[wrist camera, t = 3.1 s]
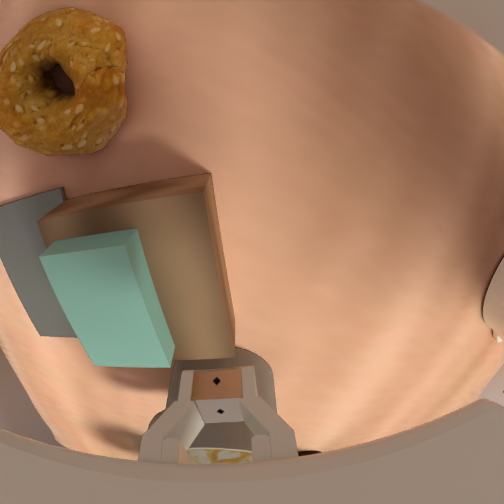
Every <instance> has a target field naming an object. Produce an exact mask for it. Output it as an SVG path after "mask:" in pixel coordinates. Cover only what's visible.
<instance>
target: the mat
mask: <svg viewBox="0 0 504 504" xmlns="http://www.w3.org/2000/svg"><path fill="white" fill-rule="evenodd" d="M65 200H66V198H65V194H64V190H63V187H61V188H57V189H53V190H50V191H46V192H43V193H40V194H36V195H33V196H30V197H26V198H23V199H20V200H17V201H14V202H11V203H8V204H5V205H2V206H0V258H1V260H2V262H3V265H4V267H5V269H6V271H7V274H8V276H9V278H10V280H11V282H12V284H13V287H14V289H15V291H16V293H17V295H18V297H19V299H20V301H21V303H22V304H23V306H24V308H25V310H26V312H27V314H28V316H29V317H30V319H31V321H32V323H33V324H34V326H35V328H36V330H37V331H38V333H39V335H40V336H51V337H75V338H78V337H77V335H76V333H75V332H74V330H73V328H72V326H71V324H70V322H69V321H68V319H67V317H66V315H65V313H64V311H63V309H62V307H61V305H60V303H59V301H58V299H57V297H56V295H55V292H54V290H53V288H52V286H51V284H50V282H49V279H48V277H47V275H46V272H45V270H44V268H43V265H42V263H41V261H40V258H39V256H40V255H41V254H42V253H43V252H44V251H45V250H46V246H45V244H44V241H43V238H42V235H41V233H40V230H39V227H38V224H37V221H38V220H39V219H41V218H42V217H43V216H45V215H46V214H47V213H49V212H50V211H51V210H53V209H54V208H55V207H57V206H58V205H59V204H61V203H62V202H64V201H65Z"/></svg>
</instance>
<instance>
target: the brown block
mask: <svg viewBox="0 0 504 504" xmlns="http://www.w3.org/2000/svg"><path fill="white" fill-rule="evenodd" d="M37 224H38V227H39V230H40V233H41V235H42V238H43V241H44V244H45V246H46V249H47V248H48V247H49V246H50V245H51V244H52V243H53V242H55V241H58V240H64V239H70V238H76V237H83V236H89V235H95V234H102V233H108V232H115V231H122V230H129V229H136V228H137V230H138V234H139V237H140V241H141V244H142V248H143V251H144V255H145V258H146V262H147V265H148V268H149V272H150V275H151V278H152V281H153V284H154V288H155V291H156V294H157V297H158V300H159V303H160V306H161V309H162V311H163V314H164V317H165V320H166V323H167V326H168V328H169V331H170V334H171V337H172V339H173V342H174V345H175V349H174V354H173V358H172V360H199V359H219V358H234V357H235V317H234V311H233V306H232V300H231V294H230V289H229V283H228V277H227V271H226V265H225V259H224V253H223V247H222V241H221V235H220V228H219V222H218V216H217V209H216V203H215V196H214V189H213V183H212V176H211V173H209V174H201V175H194V176H187V177H180V178H174V179H168V180H161V181H155V182H150V183H144V184H138V185H133V186H128V187H122V188H117V189H112V190H107V191H103V192H98V193H93V194H89V195H84V196H80V197H76V198H71V199H67V200H65V201H64V202H62V203H61V204H59V205H58V206H57V207H55V208H54V209H53V210H51V211H50V212H49V213H47V214H46V215H45V216H43V217H42V218H41V219H39V220H38V221H37Z"/></svg>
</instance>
